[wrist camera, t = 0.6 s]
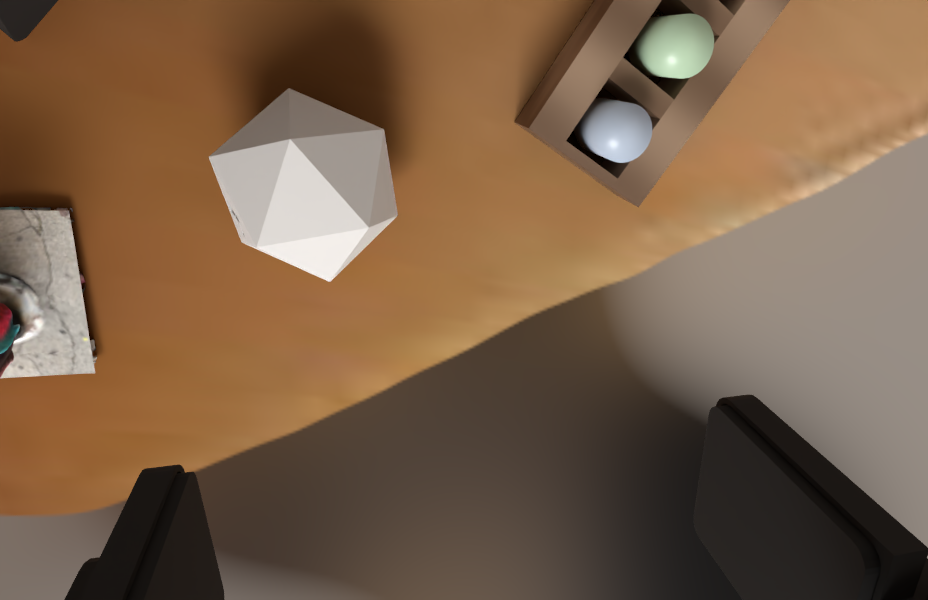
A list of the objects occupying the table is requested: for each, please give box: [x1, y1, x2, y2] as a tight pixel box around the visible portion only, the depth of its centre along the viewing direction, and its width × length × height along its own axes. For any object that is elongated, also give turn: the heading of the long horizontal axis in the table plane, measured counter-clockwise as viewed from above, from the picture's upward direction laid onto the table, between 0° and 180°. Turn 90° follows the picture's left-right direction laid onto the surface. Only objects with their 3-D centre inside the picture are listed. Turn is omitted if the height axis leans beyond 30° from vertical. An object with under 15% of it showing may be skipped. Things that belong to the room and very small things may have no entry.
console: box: [515, 0, 790, 207], centre depth 34 cm, size 15×8×3 cm, turn 146°
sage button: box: [628, 14, 714, 79], centre depth 33 cm, size 3×3×4 cm
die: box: [209, 88, 398, 282], centre depth 31 cm, size 8×9×10 cm
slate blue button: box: [574, 98, 652, 163], centre depth 34 cm, size 3×3×4 cm
